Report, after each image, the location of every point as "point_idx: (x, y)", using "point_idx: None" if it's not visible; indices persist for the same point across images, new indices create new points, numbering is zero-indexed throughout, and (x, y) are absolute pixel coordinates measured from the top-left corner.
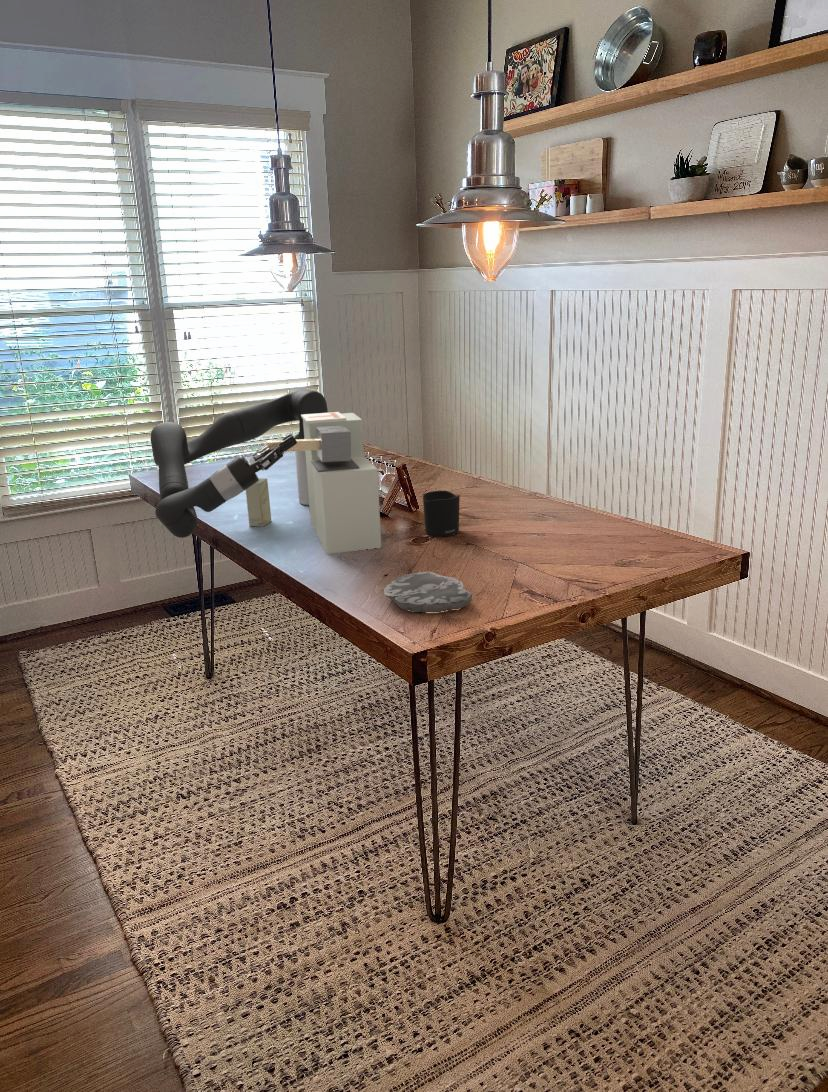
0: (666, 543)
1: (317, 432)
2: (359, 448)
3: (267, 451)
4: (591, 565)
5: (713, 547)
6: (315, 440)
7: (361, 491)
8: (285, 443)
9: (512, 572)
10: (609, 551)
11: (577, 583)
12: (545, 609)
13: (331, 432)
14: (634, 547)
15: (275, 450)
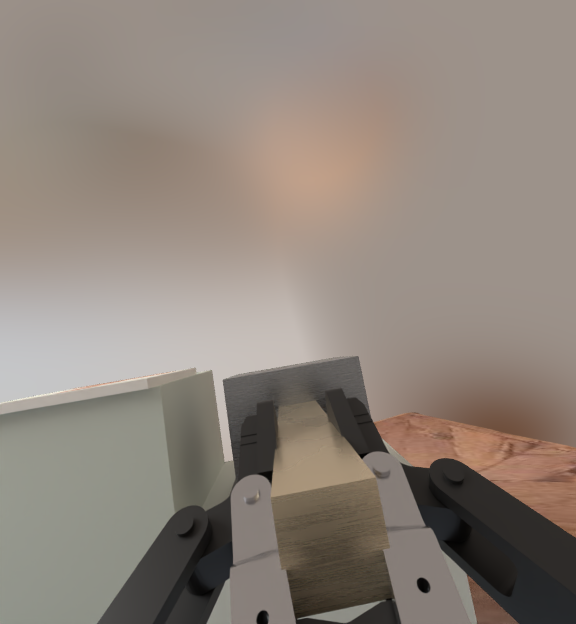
0: (386, 427)
1: (263, 387)
2: (219, 444)
3: (442, 569)
4: (455, 446)
5: (396, 417)
6: (316, 403)
7: None
8: (376, 430)
9: (505, 482)
10: (409, 441)
11: (518, 450)
12: None
13: (349, 356)
14: (397, 434)
15: (485, 485)
